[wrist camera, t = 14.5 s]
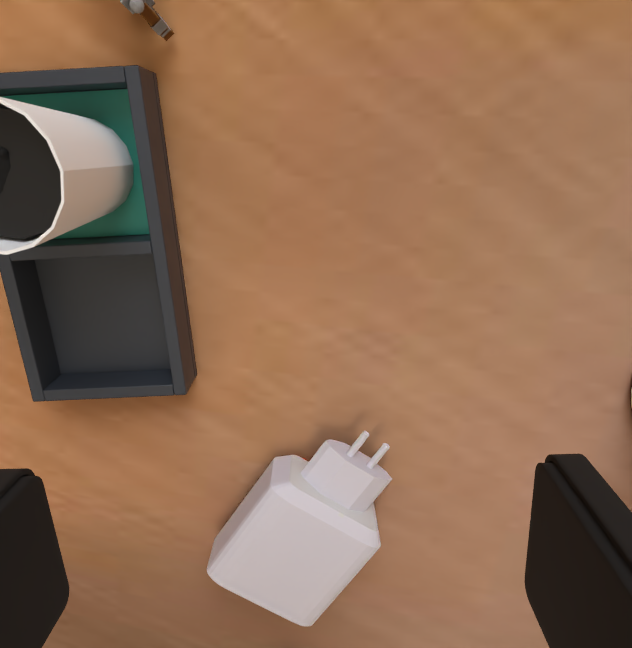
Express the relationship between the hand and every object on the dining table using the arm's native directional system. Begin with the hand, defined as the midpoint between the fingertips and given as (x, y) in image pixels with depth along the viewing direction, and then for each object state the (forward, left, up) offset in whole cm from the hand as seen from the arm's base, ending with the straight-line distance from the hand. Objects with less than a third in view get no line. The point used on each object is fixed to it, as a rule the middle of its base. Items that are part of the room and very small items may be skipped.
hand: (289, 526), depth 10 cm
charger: (0, +18, -26) cm, 32 cm away
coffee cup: (+13, -6, -25) cm, 29 cm away
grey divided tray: (+13, -2, -25) cm, 29 cm away
